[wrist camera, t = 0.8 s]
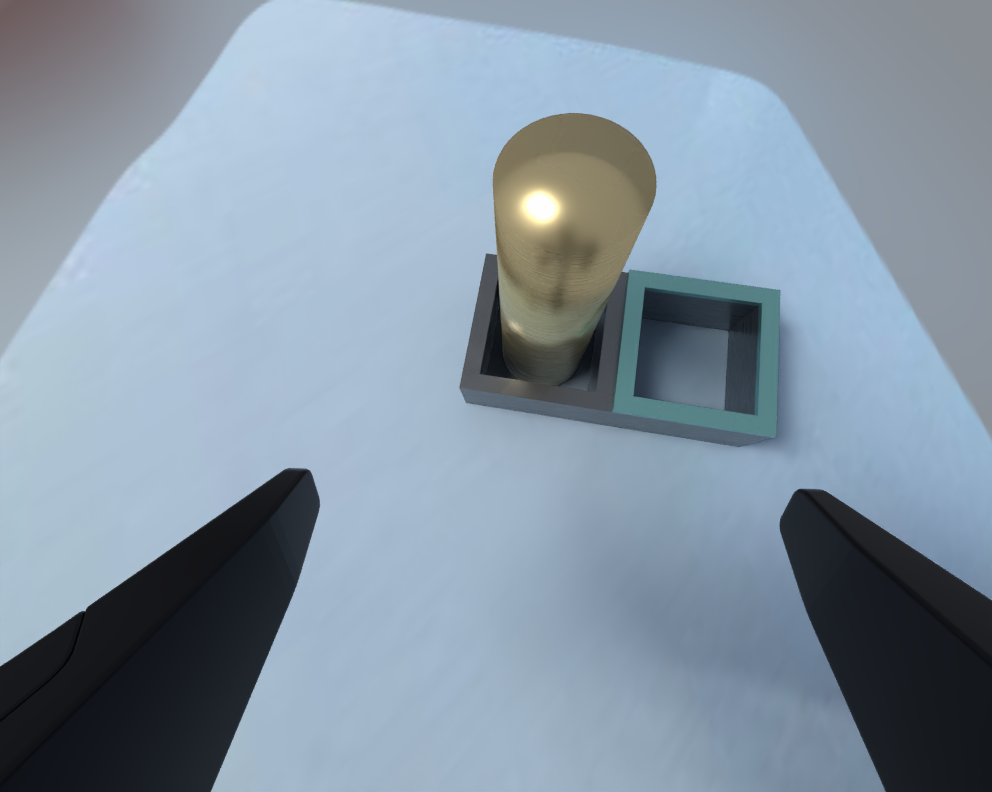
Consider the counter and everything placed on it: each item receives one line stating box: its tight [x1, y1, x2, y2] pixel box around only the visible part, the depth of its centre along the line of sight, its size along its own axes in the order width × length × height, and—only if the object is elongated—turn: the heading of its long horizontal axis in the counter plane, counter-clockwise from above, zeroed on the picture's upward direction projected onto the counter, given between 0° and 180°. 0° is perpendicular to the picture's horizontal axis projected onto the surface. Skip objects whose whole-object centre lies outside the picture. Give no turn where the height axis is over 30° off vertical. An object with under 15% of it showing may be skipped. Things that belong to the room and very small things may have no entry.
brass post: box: [493, 113, 656, 386], centre depth 18 cm, size 4×4×13 cm
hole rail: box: [460, 254, 780, 447], centre depth 22 cm, size 14×7×3 cm, turn 80°
